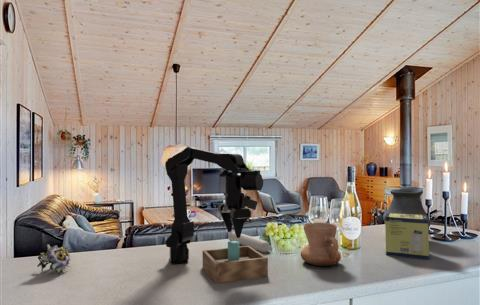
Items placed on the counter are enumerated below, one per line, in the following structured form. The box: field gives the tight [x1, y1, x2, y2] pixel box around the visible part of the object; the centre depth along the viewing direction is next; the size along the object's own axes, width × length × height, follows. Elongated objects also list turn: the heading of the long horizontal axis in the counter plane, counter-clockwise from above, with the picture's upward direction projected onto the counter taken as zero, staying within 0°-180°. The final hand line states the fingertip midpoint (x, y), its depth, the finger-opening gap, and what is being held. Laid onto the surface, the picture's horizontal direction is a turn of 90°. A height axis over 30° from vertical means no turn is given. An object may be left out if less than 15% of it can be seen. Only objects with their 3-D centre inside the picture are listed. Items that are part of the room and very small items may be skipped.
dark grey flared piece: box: [382, 185, 432, 230], centre depth 160 cm, size 21×22×25 cm
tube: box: [228, 230, 271, 253], centre depth 150 cm, size 5×5×25 cm
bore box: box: [202, 245, 269, 284], centre depth 117 cm, size 18×17×6 cm
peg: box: [227, 240, 240, 261], centre depth 117 cm, size 4×4×10 cm
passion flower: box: [36, 244, 71, 275], centre depth 117 cm, size 11×11×12 cm
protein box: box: [384, 213, 430, 261], centre depth 137 cm, size 10×16×16 cm
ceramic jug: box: [300, 221, 342, 267], centre depth 125 cm, size 18×14×14 cm
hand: (233, 234), depth 117 cm, fingers open, 9 cm apart
